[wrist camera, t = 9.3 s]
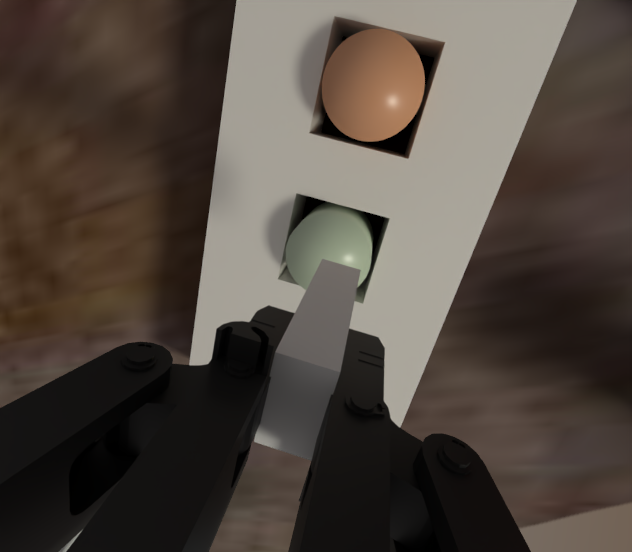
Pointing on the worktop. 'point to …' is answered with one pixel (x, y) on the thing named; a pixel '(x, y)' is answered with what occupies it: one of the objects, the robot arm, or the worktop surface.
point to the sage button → (330, 242)
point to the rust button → (373, 85)
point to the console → (368, 161)
